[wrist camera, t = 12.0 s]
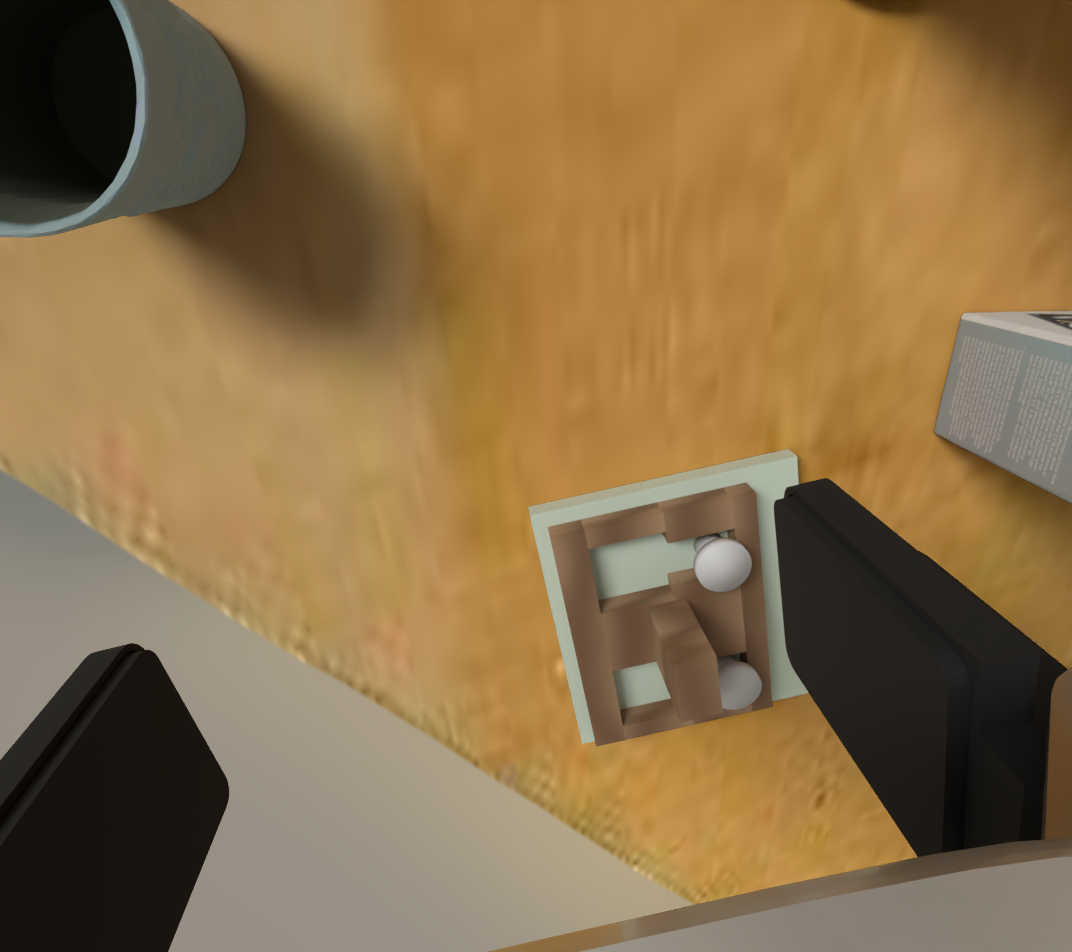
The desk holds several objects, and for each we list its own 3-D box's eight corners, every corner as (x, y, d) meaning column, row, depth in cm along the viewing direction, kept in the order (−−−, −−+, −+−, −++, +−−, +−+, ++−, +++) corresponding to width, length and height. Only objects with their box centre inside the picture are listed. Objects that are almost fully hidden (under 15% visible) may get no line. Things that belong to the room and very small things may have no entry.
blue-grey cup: (297, 184, 32) (209, 178, 21) (105, 254, 33) (-79, 283, 22) (190, -64, 28) (12, -229, 17) (-27, 19, 29) (-335, -90, 18)
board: (788, 449, 40) (821, 475, 36) (800, 681, 47) (829, 723, 44) (528, 506, 40) (534, 539, 36) (579, 730, 47) (589, 777, 43)
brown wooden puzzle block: (746, 482, 39) (799, 537, 33) (763, 691, 46) (811, 772, 39) (547, 526, 39) (562, 591, 33) (592, 729, 46) (612, 817, 39)
